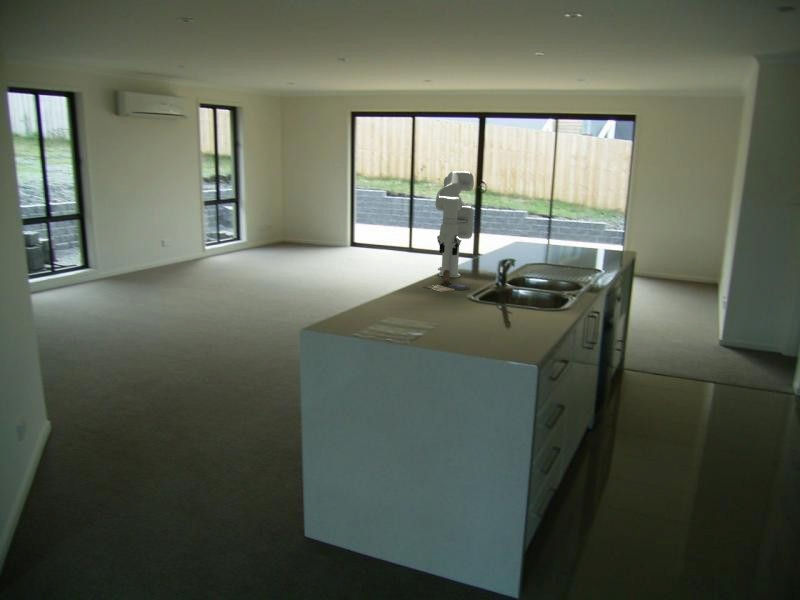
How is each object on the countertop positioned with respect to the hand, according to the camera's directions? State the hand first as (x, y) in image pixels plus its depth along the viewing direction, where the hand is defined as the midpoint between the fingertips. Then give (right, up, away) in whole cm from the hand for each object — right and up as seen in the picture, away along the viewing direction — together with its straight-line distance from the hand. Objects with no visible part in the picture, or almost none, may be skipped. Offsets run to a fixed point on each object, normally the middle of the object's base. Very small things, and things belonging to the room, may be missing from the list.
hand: (448, 253), depth 337 cm
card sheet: (-5, -19, -6) cm, 20 cm away
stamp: (-1, -16, +4) cm, 17 cm away
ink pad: (+6, -18, -3) cm, 19 cm away
